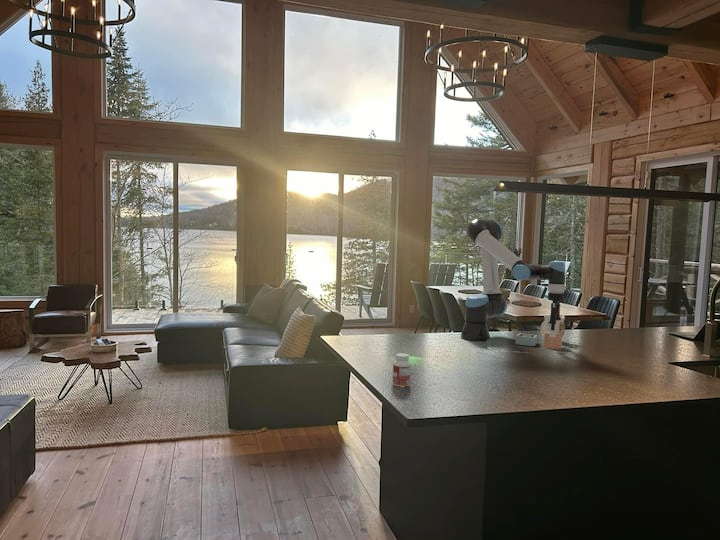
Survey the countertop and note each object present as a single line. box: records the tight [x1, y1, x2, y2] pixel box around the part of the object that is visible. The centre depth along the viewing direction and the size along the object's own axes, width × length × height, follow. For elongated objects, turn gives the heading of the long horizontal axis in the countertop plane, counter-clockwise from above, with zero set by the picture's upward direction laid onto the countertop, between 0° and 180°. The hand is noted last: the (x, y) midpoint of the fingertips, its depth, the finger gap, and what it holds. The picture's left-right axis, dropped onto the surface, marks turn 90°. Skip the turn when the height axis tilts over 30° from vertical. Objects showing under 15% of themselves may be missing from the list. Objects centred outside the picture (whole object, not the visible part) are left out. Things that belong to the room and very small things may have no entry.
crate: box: [515, 332, 538, 347], centre depth 269 cm, size 9×9×5 cm
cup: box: [543, 331, 564, 350], centre depth 263 cm, size 8×8×8 cm
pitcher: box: [540, 314, 566, 339], centre depth 282 cm, size 11×18×14 cm, turn 122°
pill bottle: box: [392, 352, 411, 387], centre depth 187 cm, size 6×6×11 cm
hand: (554, 335), depth 262 cm, fingers open, 13 cm apart
